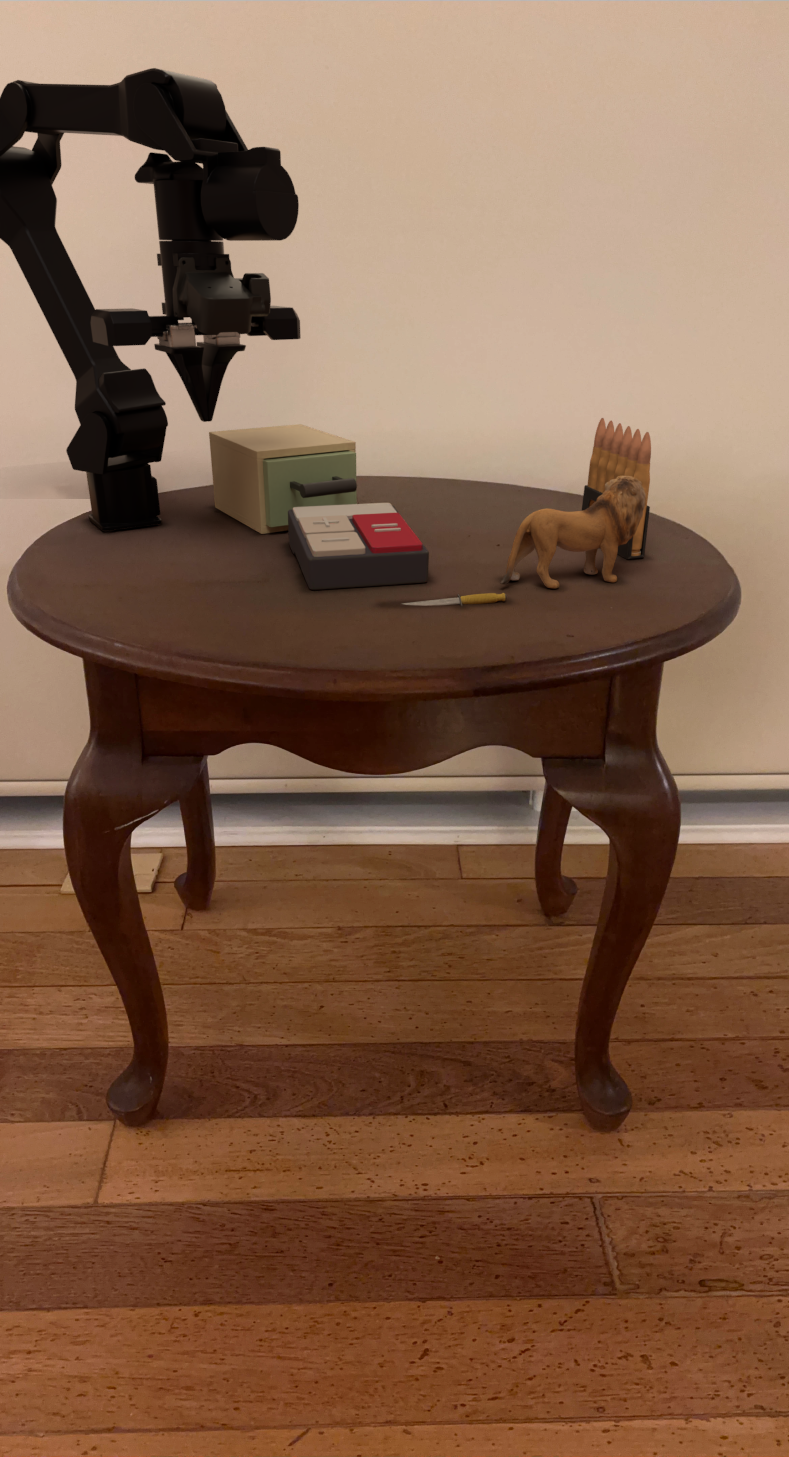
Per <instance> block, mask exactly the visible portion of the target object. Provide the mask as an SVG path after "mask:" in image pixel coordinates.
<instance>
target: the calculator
mask: <svg viewBox="0 0 789 1457" xmlns="http://www.w3.org/2000/svg"><path fill="white" fill-rule="evenodd" d="M410 526H411V525H409V524H408V523H407V521H406V520H405V518H404V517H403V516H402V515H401V513H400V512H399V511H398V509H396V507H395V506H394V505H393V504H391V503H390V502H373V503H371V502H370V503H357V504H349V505H328V506H308V507H294V508H293V509H292V510H289V511H288V530H287V531H288V544H289V547H290V550H291V552H292V554H293V555H294V556H295V557H296V560H297V563H298V564H299V568H300V570H301V573H302V574H303V577H304V580H305V583H306V584H307V587H308V589H309V590H312V591H320V590H337V589H351V588H352V589H353V588H364V587H365V588H367V587H380V586H395V585H398V586H399V585H411V584H424V583H428V581H429V565H430V564H429V563H430V562H429V561H430V560H429V559H430V551H429V550H428V548H427V547H426V545H424V543H423V542H422V541H421V539H420V538H419V537H418V535H417V534H416V533H415V532H414V531H413V529H412V528H411V527H410Z"/></svg>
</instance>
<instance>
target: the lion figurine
mask: <svg viewBox="0 0 789 1457" xmlns="http://www.w3.org/2000/svg"><path fill="white" fill-rule="evenodd" d="M645 505H646V496H645V490H644V488H643V486H642V483H641V482H640V481H639V480H638V479H636V478H634V477H632V476H618V477H617V478H616V479H612V480H610V482H607V483H606V484H605V492H604V493H603V494H602V495H601V496H599V497H598V498H597V500H596V502H594V503H593V504H592V506H590V507H589V508H587V509H585V510H583V511H582V510H577V511H564V510H559V509H554V508H541V509H537V510H535V511H533V512H531V513H530V514H529V515H527V516H526V517H525V518H524V519H523V520H522V522H521V523H520V525H519V527H518V529H517V531H516V532H515V536H514V540H513V543H512V545H511V551H510V554H509V556H508V558H507V565H506V568H505V574H504V575H503V578H502V579H501V581H500V582H499V584H500V585H507V584H509V582H510V581H519V580H520V577H521V574H520V573H519V572H517V571H515V568H516V567H517V565H518V564H519V563H520V562H521V561H522V560H523V559H525V558H526V557H527V556H529V555H530V554H531V553H533V551H534V550H535V552H536V555H537V559H538V561H537V566H536V571H535V572H536V573H537V575H538V577H539V578H540V580H541V581H542V583H543V584H544V586H545V587H546V588H547V589H558V588H559V587H560V583H559V581H558V580H557V579H553V578H551V576H550V572H549V569H550V564H551V563H552V560H553V559H554V556H555V554H556V551H557V547H559V548H560V549H562V550H565V551H568V552H571V553H572V552H573V553H581V552H582V553H583V552H585V560H584V565H583V572H584V573H585V574H586V575H589V576H594V575H597V574H598V572H599V569H598V568H597V567H596V558H597V554H598V550H599V549H600V551H601V553H602V556H603V559H602V561H603V563H602V567H601V575H602V579H603V581H605V582H608V583H617V581H618V577H617V575H616V574H614V573H613V569H614V566H615V563H616V559H617V556H618V554H617V552H618V546H620V545H623V544H626V543H627V542H628V541H629V540H630V539H631V538H632V537H633V535H635V533H636V530H637V527H638V525H639V522H640V520H641V518H642V516H643V510H644V507H645Z"/></svg>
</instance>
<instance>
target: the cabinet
mask: <svg viewBox="0 0 789 1457" xmlns="http://www.w3.org/2000/svg"><path fill="white" fill-rule="evenodd" d="M208 437H209V450H210V463H211V474H212V485H213V486H212V487H213V498H214V499H213V500H214V508H216V509H217V510H219V511H221V512H222V513H224V514H226V515H228V516H229V517H231V518H233V519H234V520H235V521H238V522H240V523H242V524H243V525H245V526H247V527H248V528H250V529H252V530H253V531H256V532H257V533H258V534H261V535H264V534H272V533H279V532H286V531H289V530H288V525H286V526H279V527H269V526H267V525H266V508H265V491H264V473H263V460H264V459H266V458H276V457H286V456H295V455H305V454H315V453H325V452H335V451H339V452H346V451H352V452H355V453H356V454H357V450H356V448H357V445H356V443H357V442H356V441H354V440H352V439H351V440H350V439H349V438H344V437H342V436H338V435H335V434H332V433H330V432H326V431H323V430H321V429H318V428H314V427H311V426H308V425H304V424H301V423H298V424H286V425H285V424H284V425H275V426H274V425H273V426H264V427H263V426H262V427H261V426H260V427H252V428H239V429H227V430H217V431H216V430H215V431H208Z"/></svg>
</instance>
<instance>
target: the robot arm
mask: <svg viewBox="0 0 789 1457" xmlns="http://www.w3.org/2000/svg"><path fill="white" fill-rule="evenodd" d="M25 133H33V134H37V138H36V140H35V142H34V144H33V146H32V149H29V148H27V147H22V146H15V145H16V144H17V143H18V142H19V141H20V140H21V139H23V136H24V134H25ZM65 134H77V135H78V134H80V135H97V136H115V137H116V136H117V137H124V138H125V139H127V140H128V141H130V142H133V143H135V144H138V145H141V146H143V147H146V148H150V149H152V150H156V151H164V153H161V152H154V151H153V152H149V153H148V155H147V158H146V160H145V162H144V163H143V164H142V165H141V166H140V167H139V168H138V170H137V171H136V173H135V174H134V180H135V182H136V183H137V184H146V185H147V184H148V185H153V192H154V203H155V213H156V222H157V234H158V240H159V241H158V244H159V253H156V260H157V266H158V267H161V274H162V275H161V276H162V284H163V294H164V295H163V296H164V302H161V312H162V315H149V313H148V310H144V309H138V308H95V305H94V304H93V302H92V300H91V298H90V296H89V293H88V291H87V290H86V287H85V286H84V284H83V282H82V280H81V278H80V275H79V274H78V272H77V269H76V267H75V265H74V263H73V261H72V260H71V257H70V255H69V253H68V250H67V249H66V247H65V245H64V243H63V241H62V238H61V236H60V235H59V233H58V230H57V227H56V223H57V222H56V221H57V220H56V219H57V206H58V198H57V195H56V192H55V189H54V187H53V184H54V183H55V180H56V178H57V176H58V175H59V173H60V170H61V169H62V153H61V152H62V151H61V140H62V138H63V136H64V135H65ZM281 156H282V154H281V150H280V148H276V147H269V146H254V147H252V148H249V149H248V147H247V145H246V144H245V141H244V139H243V138H242V136H241V134H240V133H239V131H238V129H237V127H236V126H235V123H234V122H233V120H232V119H231V117H230V115H229V114H228V112H227V110H226V104H225V101H224V98H223V95H222V93H221V92H220V91H219V89H218V85H217V84H216V83H215V82H214V81H212V80H211V79H208V78H204V77H198V76H195V75H189V74H185V73H180V72H175V71H170V70H166V69H162V68H156V67H153V68H147V69H144V70H141V71H140V70H139V71H137V72H133V73H130V74H127V75H126V76H124V77H123V79H121V81H119V82H115V83H113V84H76V83H75V84H74V83H72V84H70V83H38V82H34V81H27V80H21V79H17V80H13V81H11V82H8V83H7V84H6V85H5V86H4V88H3V90H2V92H1V94H0V240H1V241H2V242H3V243H5V244H6V245H7V246H8V248H9V250H11V252H12V254H13V256H14V258H15V261H16V262H17V264H18V267H19V269H20V271H21V272H22V274H23V276H24V278H25V280H26V282H27V284H28V286H29V288H30V290H31V292H32V294H33V296H34V298H35V300H36V302H37V304H38V306H39V308H40V310H41V312H42V314H43V316H44V318H45V320H46V322H47V325H48V326H49V328H50V330H51V333H52V334H53V336H54V339H55V340H56V342H57V344H58V346H59V348H60V350H61V353H62V354H63V357H64V358H65V360H66V363H67V365H68V366H69V368H70V370H71V372H72V374H73V376H74V378H75V384H76V385H75V395H74V396H75V397H74V398H75V399H74V411H75V413H76V416H77V419H78V421H79V427H78V429H77V430H76V432H75V433H74V435H73V437H72V439H71V441H70V442H69V444H68V445H67V447H66V450H65V451H66V455H67V457H68V460H69V462H70V465H71V468H72V470H73V471H79V472H84V473H85V474H86V482H87V487H88V488H87V489H88V494H89V495H88V496H89V501H90V509H91V513H90V514H88V520H89V521H90V522H92V523H93V524H94V525H95V526H96V527H97V528H99V529H100V530H101V531H102V532H111V531H119V530H127V529H136V528H141V527H150V526H156V525H157V526H158V525H161V524H163V522H162V518H160V517H159V516H160V515H161V505H160V496H159V487H158V479H157V478H156V477H155V476H153V475H152V469H151V468H152V467H151V463H160V462H162V458H163V453H164V452H163V451H164V446H165V439H166V433H167V427H168V426H169V421H168V417H167V414H166V410H165V408H164V406H166V404H167V403H166V401H165V400H164V399H163V398H162V397H161V395H160V394H159V392H158V390H157V388H156V385H155V383H154V380H153V377H152V375H151V373H150V372H149V371H148V370H147V369H146V368H133V369H131V368H130V367H129V366H127V365H126V364H125V363H124V362H123V361H122V360H121V358H120V356H119V355H118V353H117V351H116V349H115V347H128V346H129V347H131V346H145V345H146V344H148V342H149V340H150V339H151V338H157V340H158V343H154V344H153V347H154V350H155V351H159V352H162V353H165V354H166V356H167V357H168V359H169V361H170V362H171V364H172V366H173V368H174V369H175V371H176V372H177V374H178V376H179V377H180V379H181V382H182V384H183V385H184V386H183V387H184V388H185V389H186V390H185V391H186V392H187V394H188V396H189V398H190V400H191V403H192V405H193V407H194V409H195V411H196V413H197V415H198V418H199V420H200V421H201V422H203V423H207V422H213V418H214V414H215V410H216V407H217V402H218V399H219V395H220V391H221V386H222V384H223V379H224V377H225V374H226V371H227V370H228V367H229V364H230V362H231V361H232V359H233V358H235V355H236V354H237V353H238V352H245V351H246V348H247V345H246V344H241V339H240V338H241V335H246V336H248V337H259V336H260V337H261V336H262V337H265V336H267V338H269V339H270V340H271V341H287V340H300V339H301V319H300V317H299V315H298V313H297V311H296V309H294V307H291V306H281V305H272V295H271V285H270V278H269V277H268V276H267V275H266V274H265V273H263V272H245V273H244V274H243V276H242V278H241V277H239V278H238V277H235V276H234V274H233V270H232V262H231V259H230V254H229V253H225V246H224V240H226V241H230V242H234V241H235V242H236V241H238V242H240V241H242V242H245V241H249V242H251V241H255V242H256V241H259V242H260V241H261V242H262V241H264V242H265V241H267V242H268V241H270V242H271V241H273V242H274V241H284V240H286V239H287V238H289V237H290V236H291V235H292V233H294V232H293V231H294V230H295V228H296V225H297V222H298V218H299V217H298V216H299V209H300V208H299V207H300V206H299V196H298V194H297V193H296V189H295V185H294V183H293V180H292V178H291V175H290V174H289V172H288V171H287V170H286V168H285V167H284V166H283V165H282V157H281ZM171 158H172V159H171ZM173 160H174V161H173ZM199 164H201V165H199ZM185 318H186V319H187V318H190V319H191V321H190V322H189V321H187V322H179V321H184V320H185ZM196 336H202V337H203V338H202V339H203V341H197V340H196Z"/></svg>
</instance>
